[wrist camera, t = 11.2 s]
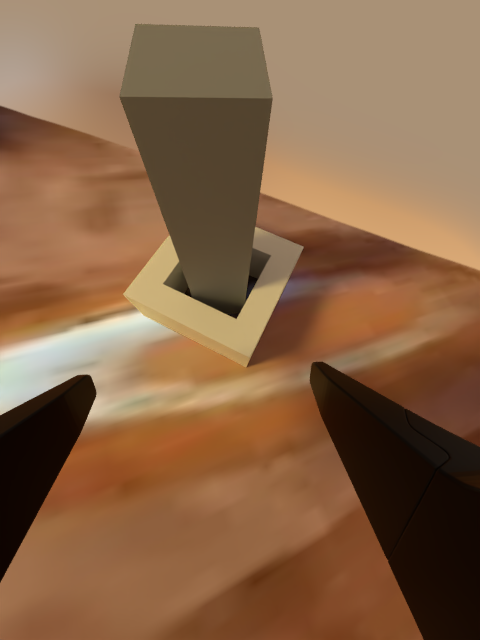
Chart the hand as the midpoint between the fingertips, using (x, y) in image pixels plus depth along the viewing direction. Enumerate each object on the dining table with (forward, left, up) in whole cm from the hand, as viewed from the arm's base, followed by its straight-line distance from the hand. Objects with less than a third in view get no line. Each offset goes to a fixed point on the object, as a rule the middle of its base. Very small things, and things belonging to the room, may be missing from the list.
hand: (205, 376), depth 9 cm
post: (+4, -8, -9) cm, 12 cm away
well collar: (+4, -8, -9) cm, 12 cm away
